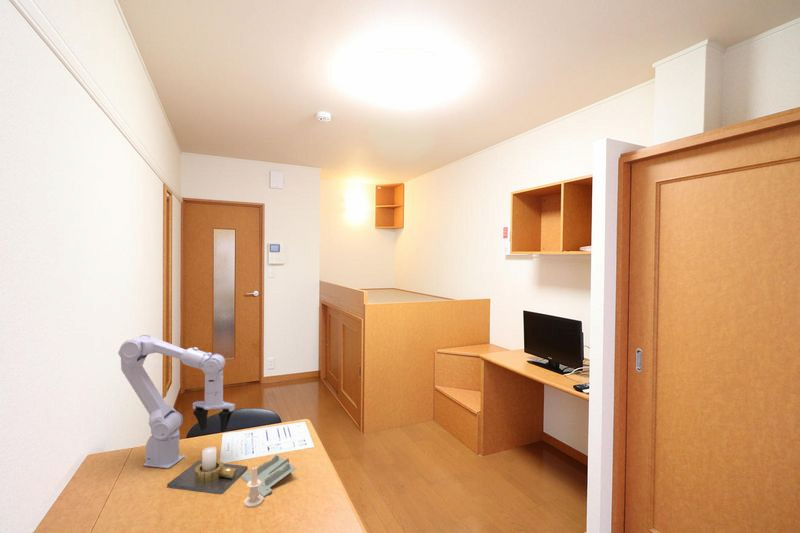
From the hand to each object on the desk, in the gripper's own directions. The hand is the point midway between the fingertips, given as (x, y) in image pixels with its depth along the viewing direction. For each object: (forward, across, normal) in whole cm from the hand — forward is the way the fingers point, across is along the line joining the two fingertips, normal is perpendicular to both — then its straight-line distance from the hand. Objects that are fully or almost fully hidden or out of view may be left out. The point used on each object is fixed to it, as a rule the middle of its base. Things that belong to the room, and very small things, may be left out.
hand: (213, 430), depth 132 cm
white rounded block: (+9, +6, -10) cm, 15 cm away
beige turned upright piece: (+11, +25, -19) cm, 33 cm away
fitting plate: (+10, +6, -10) cm, 16 cm away
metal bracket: (+12, +25, -7) cm, 28 cm away
